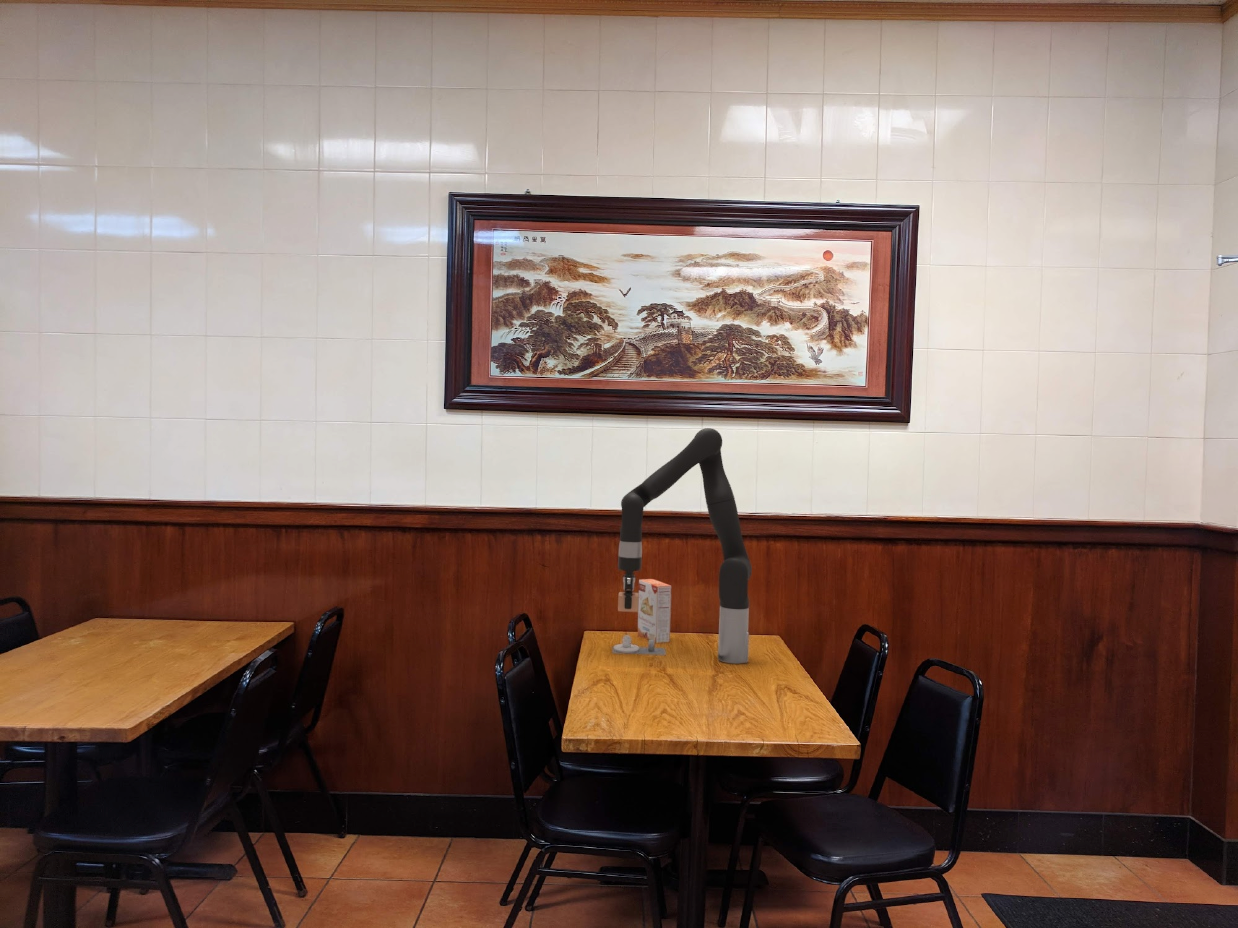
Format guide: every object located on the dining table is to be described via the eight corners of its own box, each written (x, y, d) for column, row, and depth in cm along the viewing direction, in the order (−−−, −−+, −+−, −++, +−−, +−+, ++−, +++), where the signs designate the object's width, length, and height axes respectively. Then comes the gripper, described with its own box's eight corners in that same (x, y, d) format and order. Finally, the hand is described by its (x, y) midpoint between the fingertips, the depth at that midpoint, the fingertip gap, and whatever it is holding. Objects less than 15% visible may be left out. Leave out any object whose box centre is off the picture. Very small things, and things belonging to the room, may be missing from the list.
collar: (637, 608, 267) (638, 592, 267) (637, 611, 260) (638, 596, 260) (618, 607, 267) (618, 592, 267) (617, 611, 260) (618, 595, 260)
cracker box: (636, 637, 288) (638, 578, 287) (651, 636, 290) (653, 578, 290) (654, 647, 275) (656, 585, 274) (670, 645, 277) (672, 584, 277)
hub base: (664, 652, 268) (665, 633, 268) (665, 659, 259) (666, 639, 259) (612, 650, 268) (613, 631, 268) (612, 657, 259) (612, 637, 259)
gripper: (641, 558, 256) (639, 611, 256) (641, 552, 270) (639, 602, 271) (618, 557, 256) (615, 610, 256) (619, 551, 270) (617, 601, 271)
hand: (628, 606), depth 263 cm, fingers closed on collar, 6 cm apart
